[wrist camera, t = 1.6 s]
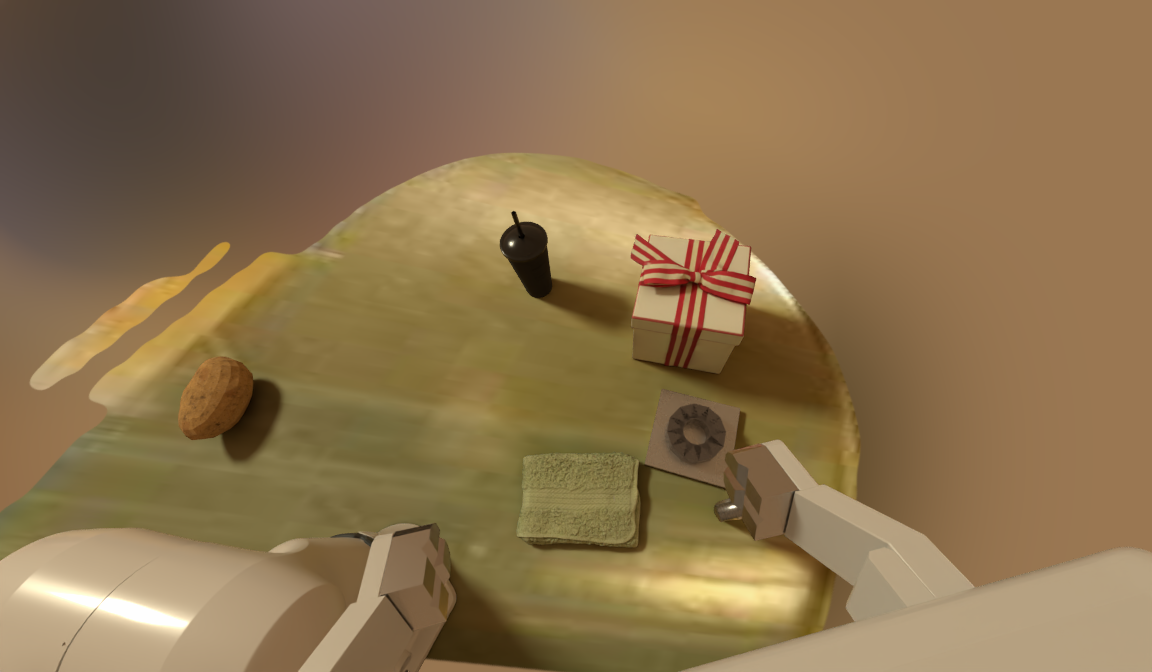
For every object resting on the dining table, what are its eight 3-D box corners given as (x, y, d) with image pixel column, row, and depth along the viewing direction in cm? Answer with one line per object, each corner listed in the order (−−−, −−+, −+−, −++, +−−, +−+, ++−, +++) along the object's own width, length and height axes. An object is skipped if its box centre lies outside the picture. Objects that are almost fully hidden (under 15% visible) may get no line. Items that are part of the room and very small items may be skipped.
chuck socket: (726, 489, 60) (733, 486, 56) (644, 464, 62) (645, 460, 59) (738, 410, 64) (745, 403, 61) (661, 390, 67) (663, 382, 63)
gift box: (728, 279, 74) (756, 213, 59) (728, 376, 67) (760, 330, 51) (633, 272, 77) (635, 207, 61) (622, 365, 69) (622, 318, 54)
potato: (196, 445, 71) (148, 435, 64) (228, 368, 77) (188, 351, 70) (247, 446, 70) (204, 436, 63) (276, 368, 76) (240, 351, 69)
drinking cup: (542, 262, 80) (519, 184, 62) (567, 287, 77) (550, 212, 59) (511, 285, 78) (477, 212, 60) (535, 311, 75) (507, 243, 57)
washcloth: (641, 549, 58) (642, 550, 55) (518, 544, 60) (512, 544, 57) (638, 453, 64) (639, 449, 61) (525, 451, 65) (521, 447, 63)
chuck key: (743, 495, 59) (775, 485, 47) (751, 514, 58) (785, 510, 46) (696, 507, 59) (715, 501, 47) (702, 526, 58) (723, 525, 46)
